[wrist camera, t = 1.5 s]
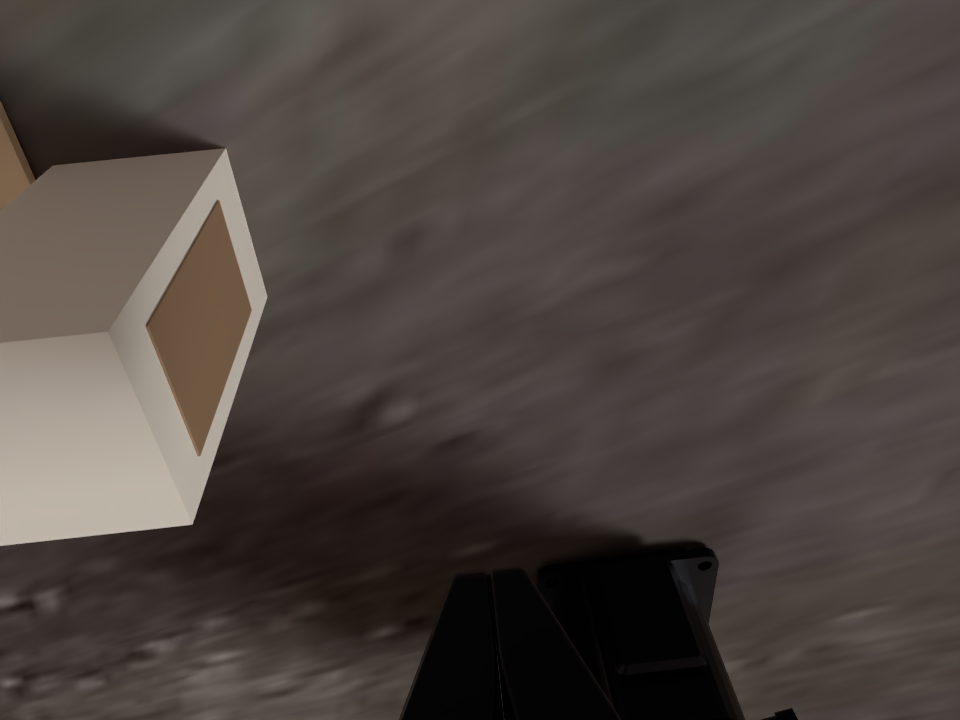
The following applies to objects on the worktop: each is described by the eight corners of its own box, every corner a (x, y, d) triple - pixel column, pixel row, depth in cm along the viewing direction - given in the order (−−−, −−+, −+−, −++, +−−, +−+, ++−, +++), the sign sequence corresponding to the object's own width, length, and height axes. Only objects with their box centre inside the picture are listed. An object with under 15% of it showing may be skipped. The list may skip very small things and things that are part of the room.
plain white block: (269, 296, 19) (195, 524, 13) (115, 312, 19) (-40, 550, 13) (228, 147, 17) (111, 331, 10) (52, 165, 17) (-176, 361, 10)
